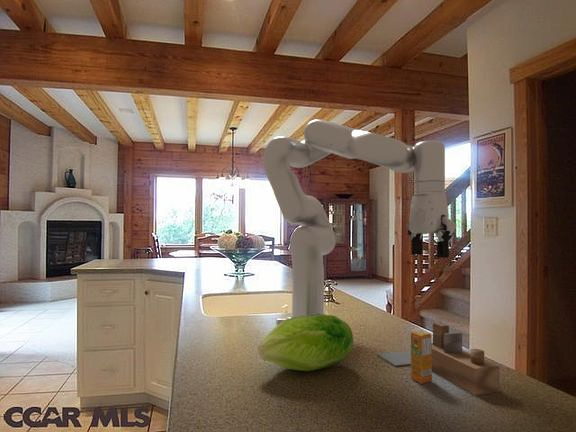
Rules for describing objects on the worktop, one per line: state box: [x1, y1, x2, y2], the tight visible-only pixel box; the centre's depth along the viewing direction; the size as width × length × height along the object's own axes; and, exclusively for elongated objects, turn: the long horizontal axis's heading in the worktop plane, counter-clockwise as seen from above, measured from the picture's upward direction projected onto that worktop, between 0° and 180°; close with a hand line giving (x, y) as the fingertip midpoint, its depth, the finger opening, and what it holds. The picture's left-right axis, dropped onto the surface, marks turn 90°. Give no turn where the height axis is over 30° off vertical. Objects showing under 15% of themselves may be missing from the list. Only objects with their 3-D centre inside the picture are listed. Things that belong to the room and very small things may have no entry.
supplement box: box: [410, 329, 433, 384], centre depth 83 cm, size 3×3×10 cm
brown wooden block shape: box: [432, 321, 501, 396], centre depth 84 cm, size 6×16×10 cm, turn 18°
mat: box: [376, 350, 411, 368], centre depth 95 cm, size 8×8×1 cm
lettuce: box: [257, 314, 354, 372], centre depth 88 cm, size 13×23×12 cm, turn 115°
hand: (429, 256), depth 101 cm, fingers open, 9 cm apart
